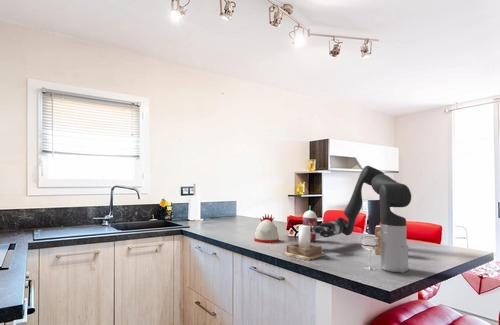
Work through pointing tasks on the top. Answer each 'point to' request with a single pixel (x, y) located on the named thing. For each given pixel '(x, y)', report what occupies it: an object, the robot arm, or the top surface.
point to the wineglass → (369, 247)
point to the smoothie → (310, 222)
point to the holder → (304, 252)
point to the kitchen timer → (266, 231)
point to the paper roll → (304, 237)
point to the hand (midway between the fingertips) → (312, 232)
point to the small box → (378, 235)
